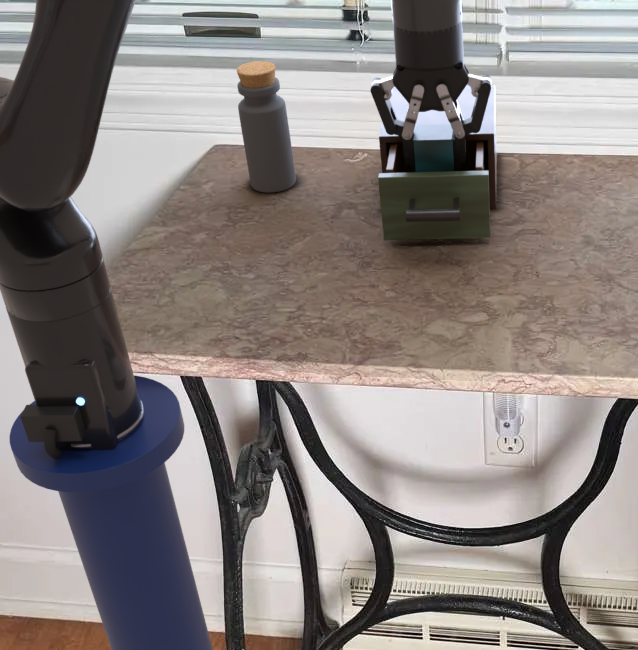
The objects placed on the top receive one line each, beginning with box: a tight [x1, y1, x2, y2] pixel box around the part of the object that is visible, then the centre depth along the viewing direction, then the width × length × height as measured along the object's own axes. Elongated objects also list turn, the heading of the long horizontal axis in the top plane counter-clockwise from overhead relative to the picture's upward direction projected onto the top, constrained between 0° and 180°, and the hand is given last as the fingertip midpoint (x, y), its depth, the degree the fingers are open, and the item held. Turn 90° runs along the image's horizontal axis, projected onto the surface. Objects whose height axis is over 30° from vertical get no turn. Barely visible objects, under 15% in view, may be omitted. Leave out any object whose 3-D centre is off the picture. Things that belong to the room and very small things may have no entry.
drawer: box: [377, 140, 491, 241], centre depth 139 cm, size 19×12×8 cm, turn 179°
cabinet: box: [378, 83, 498, 210], centre depth 148 cm, size 16×14×10 cm
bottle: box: [236, 60, 297, 194], centre depth 148 cm, size 6×6×15 cm
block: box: [414, 124, 455, 172], centre depth 137 cm, size 4×4×4 cm
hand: (436, 165), depth 138 cm, fingers closed on block, 4 cm apart
